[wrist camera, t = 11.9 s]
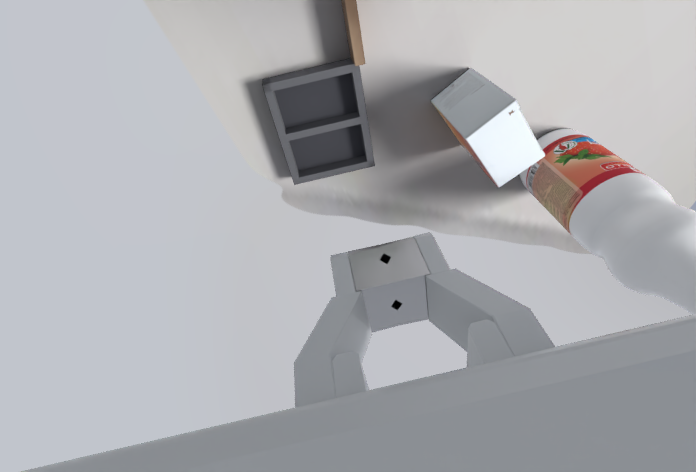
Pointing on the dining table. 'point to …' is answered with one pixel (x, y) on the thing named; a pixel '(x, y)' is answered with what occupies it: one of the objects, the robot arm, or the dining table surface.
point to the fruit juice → (617, 215)
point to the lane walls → (353, 31)
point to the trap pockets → (321, 120)
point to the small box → (489, 126)
